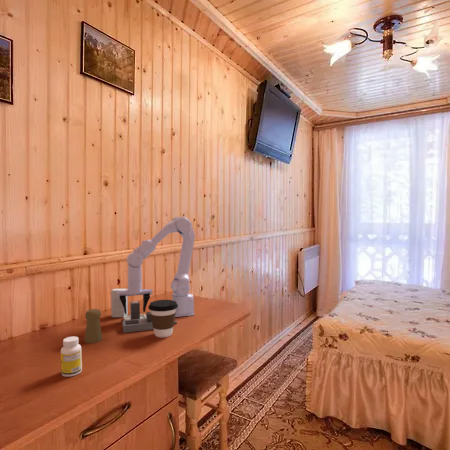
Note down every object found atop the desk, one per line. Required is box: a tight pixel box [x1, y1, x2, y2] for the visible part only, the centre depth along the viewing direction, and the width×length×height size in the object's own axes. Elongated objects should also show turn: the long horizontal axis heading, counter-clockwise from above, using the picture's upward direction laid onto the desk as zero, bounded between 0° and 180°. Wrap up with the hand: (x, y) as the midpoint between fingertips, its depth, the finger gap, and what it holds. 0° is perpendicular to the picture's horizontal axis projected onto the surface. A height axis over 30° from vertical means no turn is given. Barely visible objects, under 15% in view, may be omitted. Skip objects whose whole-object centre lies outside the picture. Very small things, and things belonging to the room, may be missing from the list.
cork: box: [83, 308, 103, 344], centre depth 117 cm, size 6×6×11 cm
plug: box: [129, 301, 141, 320], centre depth 139 cm, size 4×4×7 cm
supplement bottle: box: [60, 336, 83, 378], centre depth 93 cm, size 5×5×10 cm
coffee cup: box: [148, 299, 178, 339], centre depth 122 cm, size 11×11×12 cm
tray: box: [123, 313, 146, 321], centre depth 139 cm, size 9×7×1 cm
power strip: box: [122, 311, 178, 334], centre depth 131 cm, size 22×7×6 cm, turn 110°
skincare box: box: [110, 288, 129, 318], centre depth 145 cm, size 6×4×12 cm
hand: (134, 312), depth 139 cm, fingers open, 7 cm apart
